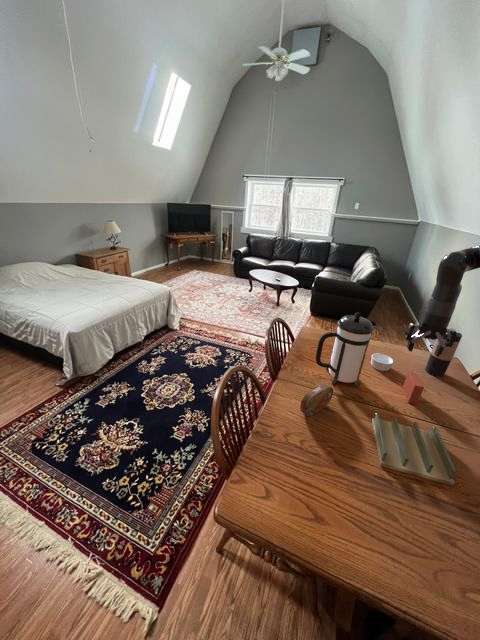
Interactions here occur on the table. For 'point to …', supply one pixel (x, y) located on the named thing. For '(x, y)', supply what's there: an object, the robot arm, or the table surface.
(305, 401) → the brown flat oval slab
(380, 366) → the ramekin
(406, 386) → the block
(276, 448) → the table surface
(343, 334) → the coffee press
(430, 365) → the travel mug
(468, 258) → the robot arm
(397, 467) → the rack
